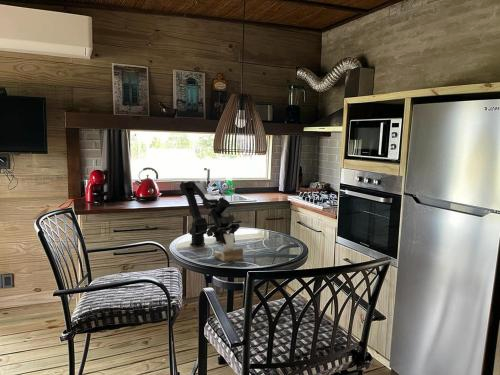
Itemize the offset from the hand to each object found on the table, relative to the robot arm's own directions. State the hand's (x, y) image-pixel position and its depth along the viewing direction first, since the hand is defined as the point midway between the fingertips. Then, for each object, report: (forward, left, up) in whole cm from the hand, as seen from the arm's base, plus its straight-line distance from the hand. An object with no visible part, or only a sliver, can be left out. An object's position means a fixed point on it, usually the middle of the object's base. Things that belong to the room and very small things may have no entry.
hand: (230, 243), depth 200 cm
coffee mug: (-21, +27, -8) cm, 35 cm away
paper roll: (-1, +1, -7) cm, 7 cm away
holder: (-1, +1, -8) cm, 8 cm away
